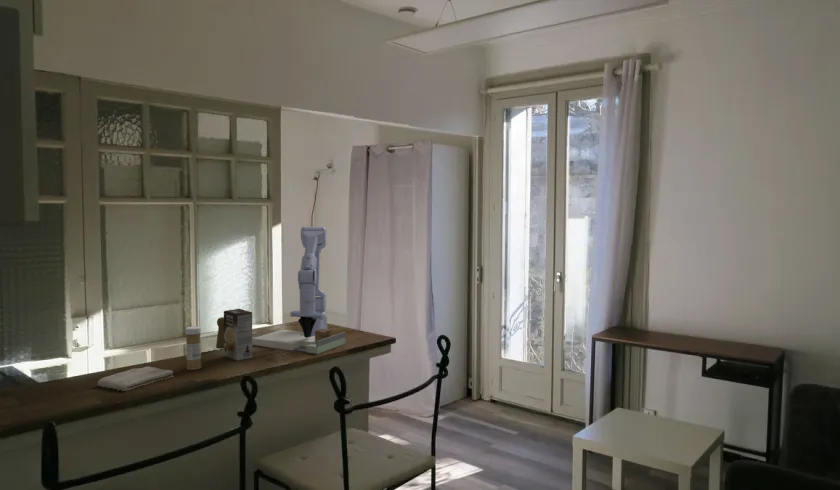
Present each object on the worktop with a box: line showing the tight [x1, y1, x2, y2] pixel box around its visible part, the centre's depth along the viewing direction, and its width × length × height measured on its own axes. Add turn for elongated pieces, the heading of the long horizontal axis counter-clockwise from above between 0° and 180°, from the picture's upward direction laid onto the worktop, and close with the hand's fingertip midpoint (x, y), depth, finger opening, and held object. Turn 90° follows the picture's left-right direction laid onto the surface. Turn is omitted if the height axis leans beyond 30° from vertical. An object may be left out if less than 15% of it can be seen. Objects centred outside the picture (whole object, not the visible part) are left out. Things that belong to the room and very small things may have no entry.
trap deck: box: [252, 329, 347, 355], centre depth 227 cm, size 18×30×4 cm, turn 64°
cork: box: [215, 316, 224, 350], centre depth 222 cm, size 6×6×11 cm
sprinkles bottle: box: [185, 325, 202, 371], centre depth 192 cm, size 5×5×13 cm
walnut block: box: [315, 328, 333, 342], centre depth 222 cm, size 4×4×4 cm
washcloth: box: [97, 366, 174, 392], centre depth 178 cm, size 12×18×3 cm, turn 155°
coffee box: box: [223, 308, 253, 361], centre depth 207 cm, size 9×6×16 cm
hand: (307, 337), depth 225 cm, fingers closed
